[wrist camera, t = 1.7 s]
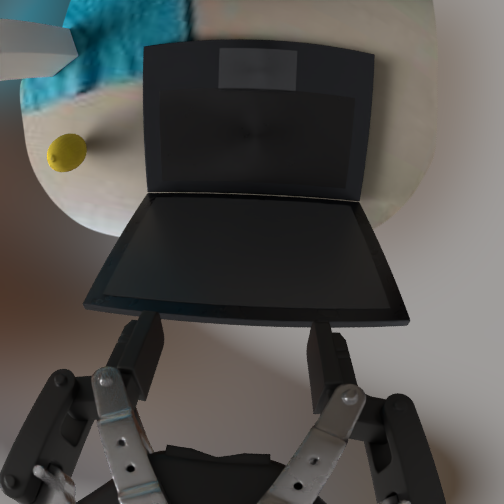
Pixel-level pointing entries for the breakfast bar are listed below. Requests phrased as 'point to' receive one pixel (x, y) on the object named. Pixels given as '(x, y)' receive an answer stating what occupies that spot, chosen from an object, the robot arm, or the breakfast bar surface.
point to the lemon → (66, 152)
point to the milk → (33, 49)
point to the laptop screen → (249, 263)
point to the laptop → (256, 118)
